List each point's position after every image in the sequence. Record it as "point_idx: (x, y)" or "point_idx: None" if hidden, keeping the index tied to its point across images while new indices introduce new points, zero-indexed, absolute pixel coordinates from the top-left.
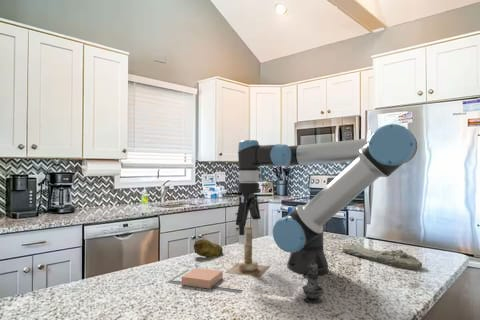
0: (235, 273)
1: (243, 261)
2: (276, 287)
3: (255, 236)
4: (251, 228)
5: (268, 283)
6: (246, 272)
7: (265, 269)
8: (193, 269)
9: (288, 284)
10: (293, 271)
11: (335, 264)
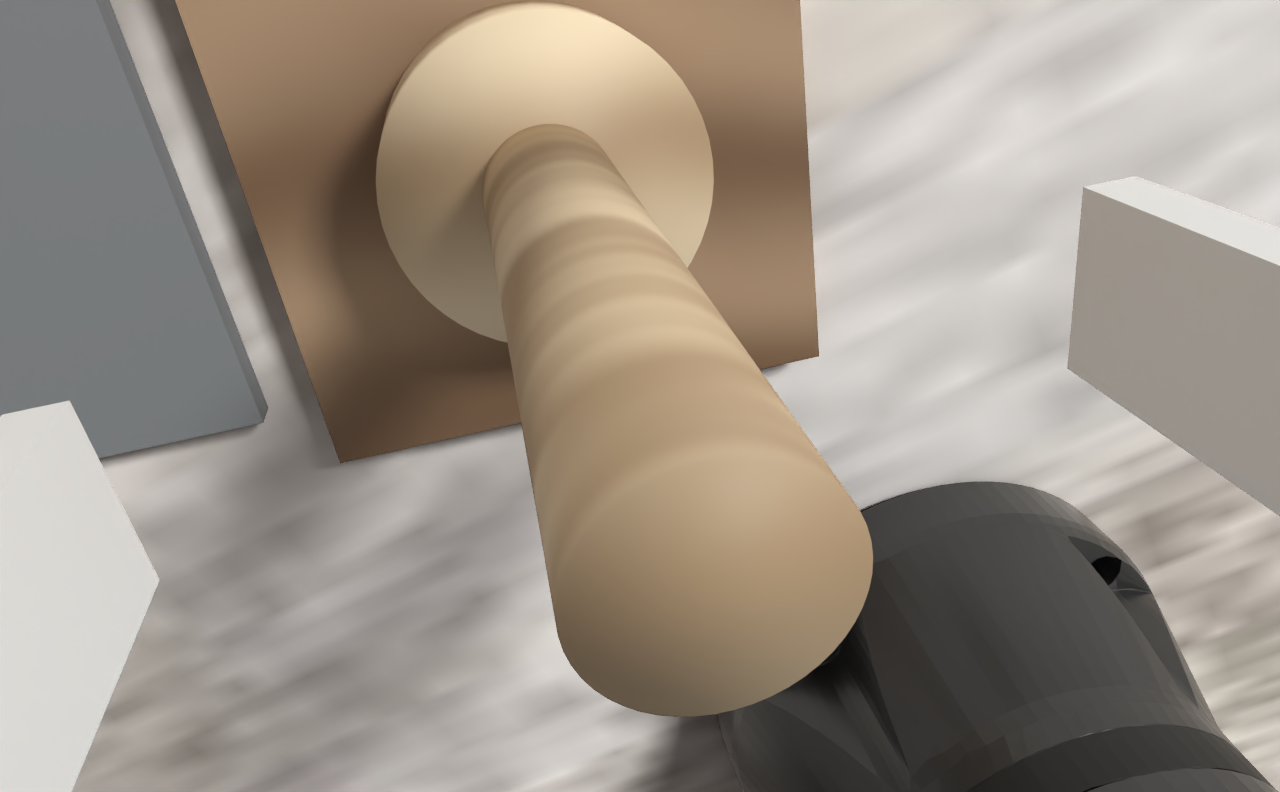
0: (231, 93)
1: (562, 84)
2: (248, 675)
3: (1073, 312)
4: (688, 687)
5: (301, 566)
6: None
7: None
8: None
9: (410, 712)
10: None
11: None
